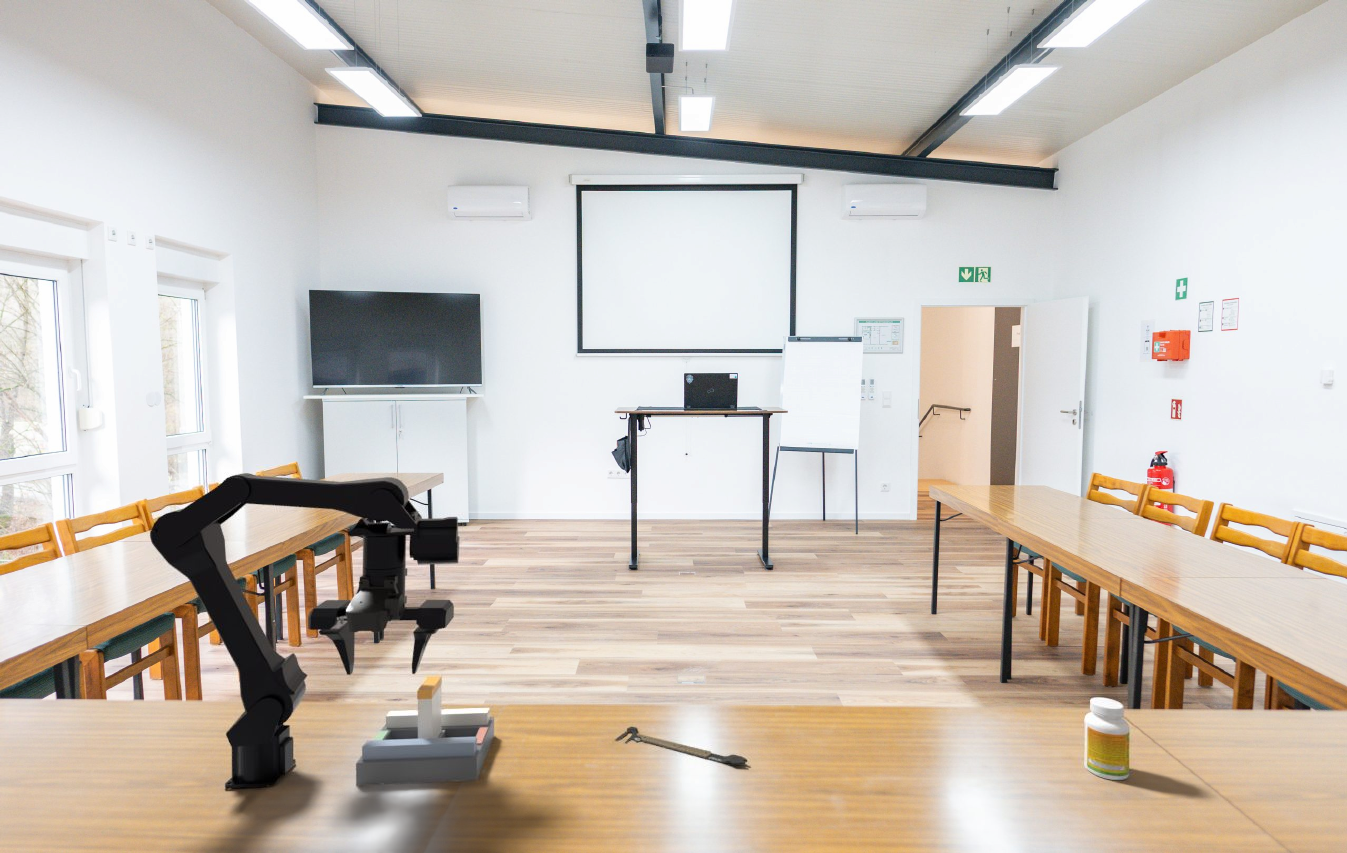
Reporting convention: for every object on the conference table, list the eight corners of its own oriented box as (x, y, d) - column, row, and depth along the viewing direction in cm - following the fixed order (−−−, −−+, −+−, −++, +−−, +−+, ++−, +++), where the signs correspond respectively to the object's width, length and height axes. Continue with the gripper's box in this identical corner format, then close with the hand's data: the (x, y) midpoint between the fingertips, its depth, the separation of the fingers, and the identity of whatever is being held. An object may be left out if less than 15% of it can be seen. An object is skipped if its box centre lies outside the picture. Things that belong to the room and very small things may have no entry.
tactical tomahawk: (605, 752, 103) (604, 745, 103) (630, 731, 109) (629, 724, 109) (729, 789, 92) (729, 781, 92) (749, 763, 98) (749, 756, 98)
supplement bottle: (1136, 783, 93) (1137, 712, 92) (1092, 778, 94) (1093, 708, 94) (1118, 763, 98) (1119, 696, 98) (1077, 759, 99) (1078, 693, 99)
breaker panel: (356, 784, 92) (355, 749, 92) (388, 739, 105) (388, 708, 105) (476, 780, 93) (476, 745, 93) (494, 735, 106) (494, 705, 106)
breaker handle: (413, 755, 96) (413, 690, 96) (424, 737, 101) (424, 676, 101) (435, 755, 96) (435, 690, 96) (445, 737, 102) (445, 675, 102)
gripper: (290, 578, 89) (288, 697, 89) (436, 578, 91) (434, 695, 91) (325, 561, 100) (323, 666, 100) (455, 561, 102) (453, 665, 102)
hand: (382, 673), depth 98 cm, fingers open, 9 cm apart
